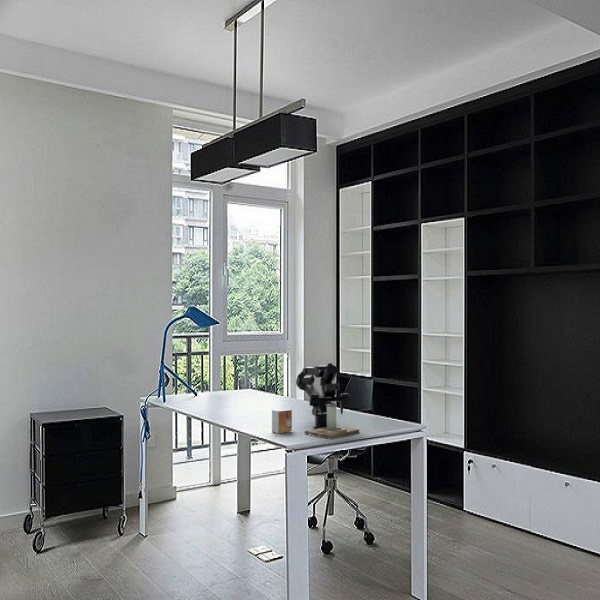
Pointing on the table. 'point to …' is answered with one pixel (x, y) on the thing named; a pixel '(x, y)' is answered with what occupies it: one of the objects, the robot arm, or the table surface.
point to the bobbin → (331, 417)
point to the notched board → (332, 432)
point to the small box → (281, 420)
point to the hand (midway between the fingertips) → (332, 414)
